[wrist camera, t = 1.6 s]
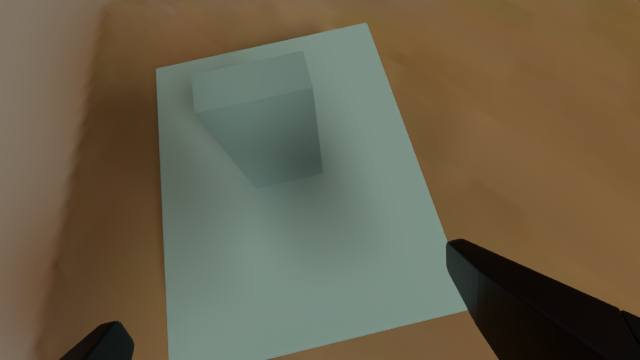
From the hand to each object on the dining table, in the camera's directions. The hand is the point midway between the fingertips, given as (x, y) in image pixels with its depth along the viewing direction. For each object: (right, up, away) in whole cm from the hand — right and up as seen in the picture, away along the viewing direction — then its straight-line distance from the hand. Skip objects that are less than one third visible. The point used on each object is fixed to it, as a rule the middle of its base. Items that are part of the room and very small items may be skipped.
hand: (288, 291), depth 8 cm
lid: (-1, +3, +10) cm, 11 cm away
